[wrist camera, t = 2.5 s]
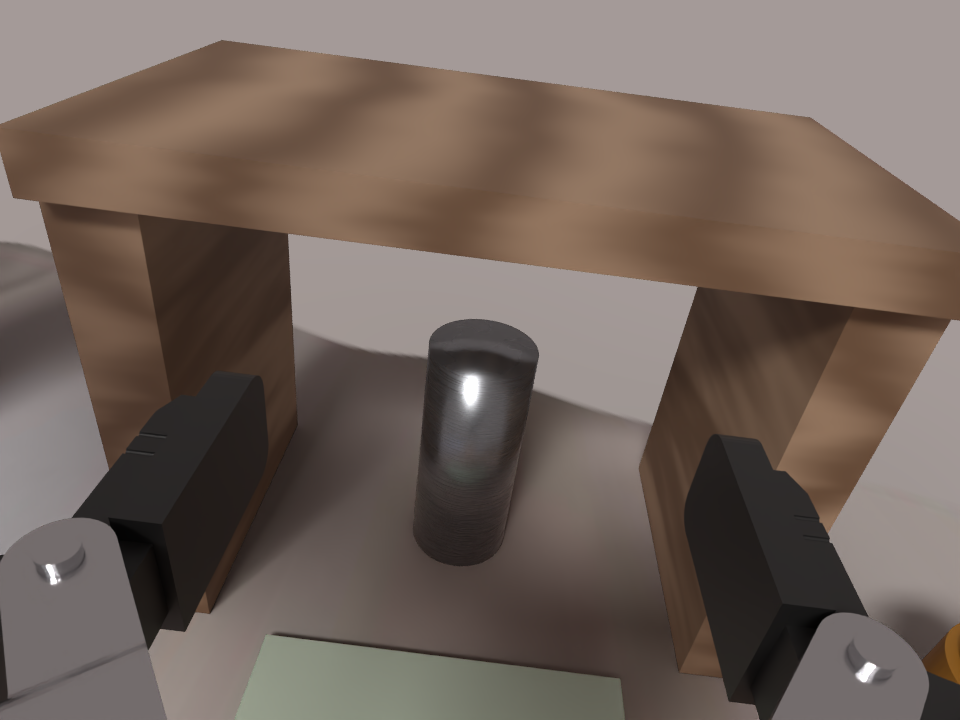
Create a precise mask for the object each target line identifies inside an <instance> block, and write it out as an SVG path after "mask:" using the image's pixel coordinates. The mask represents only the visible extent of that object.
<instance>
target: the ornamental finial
mask: <svg viewBox="0 0 960 720" xmlns="http://www.w3.org/2000/svg"><path fill="white" fill-rule="evenodd" d="M922 663H923V665H924V667H925V669H926V671H928V672H930V673H932V674H935V675H937V676H939V677H942V678H944V679H947V680H949V681H952V682H955V683H957V684H960V623H959V624H957V625H955V626H954V627H953V628H952V629H951V630H950V631H949V632H948V633H947V634H946V635H945V636H944V637H943V638H942V639H941V640H940V642H939V643H938V644H937V645H936V646H935V647H934V648H933V649H932V650H931V651H930V652H929V653H928V654H927V655H926V656H925V658H924V659H923V660H922Z"/></svg>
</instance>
